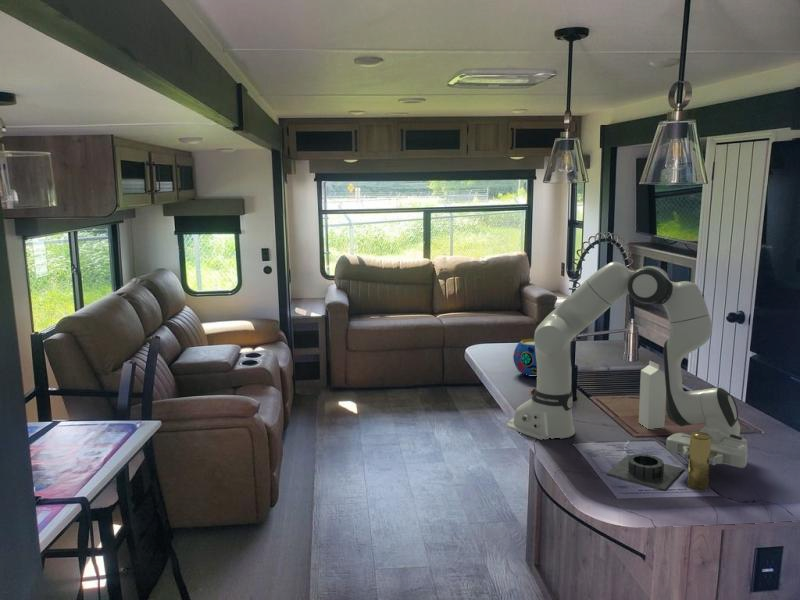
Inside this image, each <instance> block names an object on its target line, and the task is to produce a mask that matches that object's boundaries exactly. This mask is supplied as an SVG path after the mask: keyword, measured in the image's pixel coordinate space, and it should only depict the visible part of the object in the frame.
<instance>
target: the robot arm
mask: <svg viewBox="0 0 800 600" xmlns="http://www.w3.org/2000/svg"><path fill="white" fill-rule="evenodd" d="M626 295H630V296H631V298H632V299H633V300H634V301H636V302H637V303H640V304H644V305H645V304H646V305H662V306H663V308H664V310H665V312H666V315H667V319H668V322H669V328H670V330H669V331H670V332H669V337H668V339H667V340H666V341H665V342H664V344H663V350H662V351H663V353H662V355H663V368H664V371H663V372H664V373H665V383H666V402H665V412H666V415H667V419H669V420H670V421H672V422H673V423H674V424H675V425H677V426H679V427H685V426H686V427H687V426H691V425H695V424H697V425H698V424H705V426H703V428H702V429H700V431H699V432H705V433H707V434H709V435H710V437H711V447H710V457H709V460H708V461H709V462H708V464H709V466H710V465H711V466H715V465H718V464H719V465H720V464H723V465H728V466H731V467H735V468H739V469H744V468H745V467H746V466H747V464H748V463H747V461H748V452H749V451H748V440H747V439H746V438H744V437H741V436H740V434H741V425H740V423H739V421H738V420H739V411H738V406H737V403H736V400H735V399H734V397H733V395H732V394H730V392H728V391H727V390H726V389H724V388H722V387H720V386H719V387H712V388H704V389H697V390H689V391H685V390H684V389H683V379H682V377H683V376H682V365H681V364H682V361H683V359H684V358H685V357H686V356H688V355H689V354H691V353H692V352H694V351H696V350H698V349H699V348H701V347H703V345H705V344H706V343H707V342H708V341H709V340H710V338H711V336H712V333H713V325H712V321H711V317H710V312H709V309H708V306H707V303H706V300H705V298H704V296H703V294H702V292H701V289H700V288H699V286H698V285H697V284H696V283H695V282H692V281H689V280H687V281H686V280H684V281H676V282H675V281H671V277H670V275H669V273H668V272H667V271H666V270H665V269H664V268H662V267H660V266H656V265H646V266H645V265H644V266H643V267H641V268H640V267H639V268H637V269H634V270H633V269H630V268H628V267H627V266H626V265H625V264H624V263H621V262H619V261H611V262H609V263H607V264H605V265H604V266H603V267H601V268H600V269H598V270H597V271H595V272H594V273H593V274H591V275H590V276H589V277H588V278H587V279H586V280H585V281H584V282H583V283H582V284H581V285H579V286H578V288H576V289H575V290H574V291H573V292H572V293H570V295H569V296H568V297H566V298H565V299H564V300H563V301H562V302H561V303H560V304H558V306H556V307H555V308H554V309H553V310H552V311H551V312H550V313H549V314H548V315H547V316H545V318H544V319H543V320H542V321H541V322H540V323H539V324H538V325H537V327H536V329H535V330H534V335H533V336H534V337H533V339H534V341H535V353H536V361H537V377H536V387H535V388H533V389H532V390H530V391H529V396H531V398H529V399H528V400H526V401H525V402H524V403H522V404H520V405H519V406H518V407H517V408H516V409H515V412H514V416H513V417H512V418H511V419H510V420H508V421H507V423H506V428H507V429H510V430H512V431H515V432H518V433H521V434H524V435H526V436H529V437H532V438H534V439H538V440H543V439H544V440H549V438H551V439H552V440H554V438H560V439H565V438H567V439H568V438H571V437H572V436H574V435H575V434H576V430H575V426H574V422H573V421H574V420H573V414H572V413H573V412H572V408H573V390H572V368H573V367H572V360H571V341H572V340H573V339H574V338H575V337H576V336H578V334H580V333H581V332H582V331H584V330H585V329H586V328H588V326H590V325H591V324H592V323H594V322H595V321H596V320H597V319H599V318H600V316H602V315H603V314H604V313H605V312H606V311H607V310H608V309H609V308H611V307H612V306H613V305H614V304H615V303H616V302H617V301H618V300H620V299H621V298H623V297H624V296H626ZM690 435H691V434H688V433H684V432H677V433H676V432H675V433H673V434H671V435H669V436H668V437H667V438H666V444H665V448H666V450H667V451H669V452H671V453H676V454H680V455H682V459H687V460H689V449H690Z"/></svg>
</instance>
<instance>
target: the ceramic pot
mask: <svg viewBox="0 0 800 600" xmlns="http://www.w3.org/2000/svg"><path fill="white" fill-rule="evenodd" d="M512 358H513V363H514V366H515V367H516V369H517V371H518V372H519V373H521V374H522V373H523V374H522V375H524V374H527V375H537V361H536V353H535V341H534V338H527V339H522V340H520V341H519V342H518V343H517V344H516V346H515V348H514V352H513V356H512Z"/></svg>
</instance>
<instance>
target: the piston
mask: <svg viewBox="0 0 800 600" xmlns="http://www.w3.org/2000/svg"><path fill="white" fill-rule="evenodd" d="M689 435H690V449H689V459H688V470H687V484H688V485H687V487H688V488H690V489H692V490H695V491H707V490H708V489H709V479H710V478H709V477H710V476H709V475H710V464H708V462H709V461H708V460H709V457H710V447H711V437H710V435H709V434H707V433H705V432H700V431H693V432H691V434H689Z"/></svg>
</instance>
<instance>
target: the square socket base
mask: <svg viewBox="0 0 800 600" xmlns="http://www.w3.org/2000/svg"><path fill="white" fill-rule="evenodd" d="M683 471H685V470H684V468H683V467H679V466H675V465H672V464H667V463H664V461H663V459H662V458H660V457H657V456H655V455H652V454H646V453H635V454H627V455H625V456H624V457H623V458H622V459H621V460H620V461H619V462H617V463H615V465H614V466H613V467H612V468H611V469H609V470H608V471H607V472H606V475H607V476H609V475H610V476H609V477H613V478H617V479H621V480H625V481H628V482H632V483H635V482H636V484H638V483H639V484H640V485H642V484H643V485H642V486H646V487H649V486H650V488H654V489H657V488H658V489H657V490H661V491H664V492H665V491H666V490H667V489H668V488H669V487H670V485H672V483H673V482H674V481H675V480H677V478H678V477H679V476H680V475H681V474H682V472H683Z"/></svg>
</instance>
